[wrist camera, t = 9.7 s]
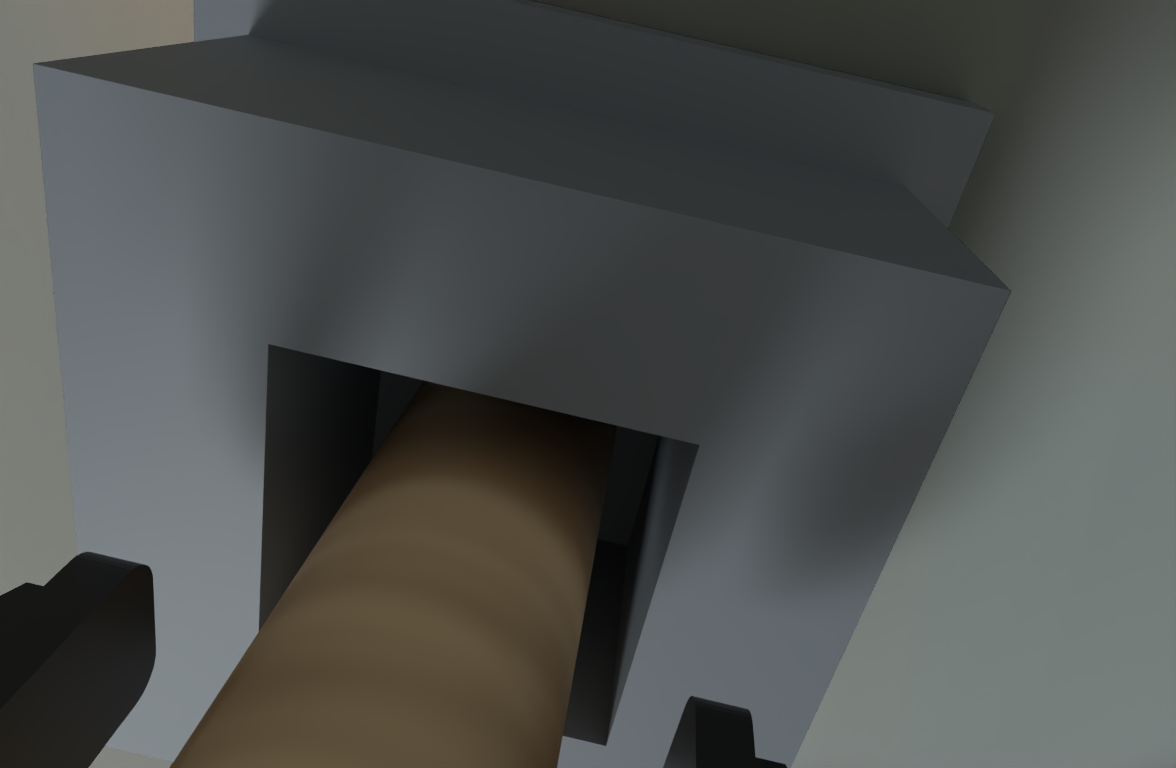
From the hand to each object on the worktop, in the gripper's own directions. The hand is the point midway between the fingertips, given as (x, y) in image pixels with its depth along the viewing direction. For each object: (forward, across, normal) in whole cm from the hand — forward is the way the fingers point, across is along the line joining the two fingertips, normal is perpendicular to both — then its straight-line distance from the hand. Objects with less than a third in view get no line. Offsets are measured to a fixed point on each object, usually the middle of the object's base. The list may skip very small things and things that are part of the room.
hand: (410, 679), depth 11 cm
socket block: (+9, 0, 0) cm, 9 cm away
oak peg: (+8, 0, 0) cm, 8 cm away
